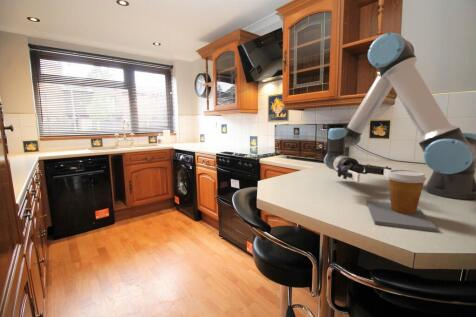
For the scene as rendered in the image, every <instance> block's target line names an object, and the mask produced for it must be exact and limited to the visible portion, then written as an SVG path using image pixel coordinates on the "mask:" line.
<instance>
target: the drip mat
mask: <svg viewBox="0 0 476 317" xmlns="http://www.w3.org/2000/svg"><path fill="white" fill-rule="evenodd" d="M366 205H367V208H368V210H369V214H370V215H371V218H372V220H373V221H372V222H373V223H374V225H378V226H387V227H392V228H393V227H394V228H401V229H402V228H403V229H410V230H419V231H425V232H433V233H434V232H436V233H437V232H438V227H437V226H436V225H435V223H433V222H432V221H431V220H430V218H429V217H428V216H426V214H425V213H424V212H423V211H422V210H421V209H420V207H418V206H417V210H416V213H415V214H401V213H397V212H395V211H393V210H391V202H385V201H374V200H366Z"/></svg>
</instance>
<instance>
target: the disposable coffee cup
mask: <svg viewBox="0 0 476 317" xmlns="http://www.w3.org/2000/svg"><path fill="white" fill-rule="evenodd" d="M387 176H388V177H387V178H388V187H389V196H390V197H389V198H390V199H389V200H390V202H389V203H391V210H393V211H395V212H397V213H401V214H415V213H416V210H417V207H418V206H419V202H420V199H421V194H422V191H423V187H424V183H425V181H426V180H427V177H426V174H425V173H424V172H421V171H416V170H409V169H392V170H390V171H389V174H388V175H387Z"/></svg>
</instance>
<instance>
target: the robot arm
mask: <svg viewBox="0 0 476 317" xmlns="http://www.w3.org/2000/svg"><path fill="white" fill-rule="evenodd" d="M367 60H368V61H369V63H370V64H371V65H372V66H373V67H375V69H376V70H377V71H376V75H377V76H376V77H375V79H374V81H373V83H372V85H371V86H370V88H369V89H368V91H367V93H366V94H365V96H364V97H363V100H362V101H361V103H360V105H359V106H358V108H356V111H355V112H354V113H353V116H352V117H351V119H350V121H349V123H348V124H347V127H345V128H344V127H334V128H333V127H332V128H329V129H328V133H327V134H328V135H327V152H326V155H324V156H325V157H324V158H323V164H324V165H325V166H326V167H327V168H329V169H330V170H333V171H335V172H336V173H337V177H339V178H340V177H342V179H343V180H347V179H350V180H352V181H354V182H357V183H359V182H360V179H361V178H360V177H361V176H360V175H362V174H363V175H367V174H371V175H373V174H374V175H380V176H383V177H385V178H388V176H387V175H388V174H389V171H390V170H393V169H392V167H389V166H377V165H372V164H367V163H366V164H362V163H359V162H358V160H357V159H356V158H354V157H349V156H346V148H348V147H354V146H356V145H358V144H359V143H360V142H361V139H362V137H361V136H362V134H363V133H364V131H365V130H366V128H367V126H368V125H369V123H370V122H371V121H372V119H373V117H374V116H375V114H376V113H377V111H378V109H379V108H380V106H381V105H382V103H383V102H384V101H385V99H386V97H387V96H388V94H390V91H391V90H392V88H393V90H394V92H395V93H396V96H397V97H398V99H399V101H400V102H401V104H402V106H403V108H404V109H405V111H406V113H407V115H408V117H409V118H410V120H411V122H412V123H413V125H414V127H415V129H416V130H417V132H418V134H419V136H420V138H419V140H418V144H419V146H420V148H421V151H422V152H423V159H424V162H425V164H426V165H427V167H428V168H429V169H431V170H432V173H431V175H430V176H429V178H428V181H427V182H426V184H425V192H428V193H430V194H431V195H435V196H439V197H443V198H450V199H457V200H458V199H459V200H475V199H476V177H475V173H476V133H473V132H471V133H470V132H463V131H462V129H461V128H460V127H459V126H457V125H453V124H451V123H450V121H449V120H448V118H447V117H446V115H445V113H444V111H443V110H442V109H441V107H440V105H439V104H438V101H436V99H435V97H434V95H433V94H432V92H431V91H430V89H429V87H428V86H427V84H426V82H425V80H424V79H423V77H422V75H421V73H420V72H419V70H418V69H417V67H416V63H417V60H418V58H417V56H416V55H415V47H414V45H413V44H412V43H411V42H410V41H409V40H407V39H405V37H403V36H402V35H401V34H399V33H396V32H386V33H384V34H381V35H380V36H378V37H377V38H375V39H374V40H373V42H372V43H371V44H370V46H369V48H368V50H367Z"/></svg>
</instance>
